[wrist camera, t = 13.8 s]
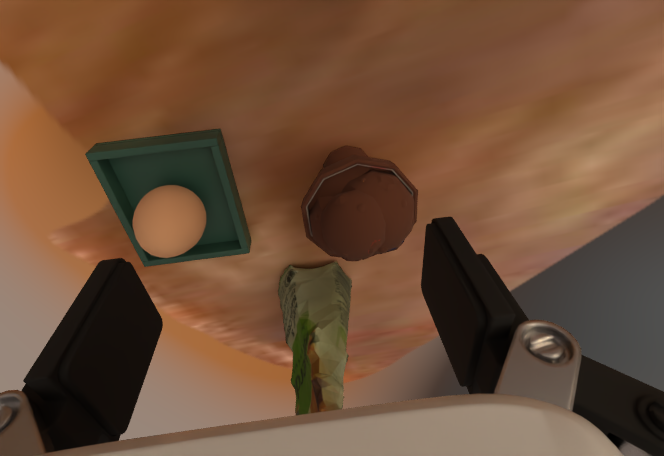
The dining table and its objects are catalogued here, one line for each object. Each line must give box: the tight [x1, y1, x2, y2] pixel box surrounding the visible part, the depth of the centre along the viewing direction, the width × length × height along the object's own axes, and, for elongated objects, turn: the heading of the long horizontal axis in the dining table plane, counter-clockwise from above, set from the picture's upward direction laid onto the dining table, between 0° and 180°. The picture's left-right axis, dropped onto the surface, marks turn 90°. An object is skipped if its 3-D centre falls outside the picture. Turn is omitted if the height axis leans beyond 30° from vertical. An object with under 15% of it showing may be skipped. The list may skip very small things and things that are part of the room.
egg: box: [133, 185, 206, 258], centre depth 37 cm, size 7×7×9 cm
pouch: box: [278, 261, 352, 415], centre depth 41 cm, size 11×12×25 cm
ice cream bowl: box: [301, 146, 418, 261], centre depth 35 cm, size 11×11×15 cm
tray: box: [85, 129, 251, 267], centre depth 40 cm, size 15×13×3 cm
